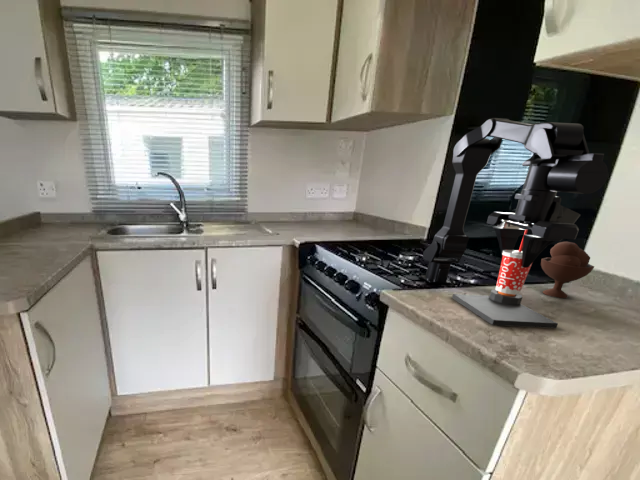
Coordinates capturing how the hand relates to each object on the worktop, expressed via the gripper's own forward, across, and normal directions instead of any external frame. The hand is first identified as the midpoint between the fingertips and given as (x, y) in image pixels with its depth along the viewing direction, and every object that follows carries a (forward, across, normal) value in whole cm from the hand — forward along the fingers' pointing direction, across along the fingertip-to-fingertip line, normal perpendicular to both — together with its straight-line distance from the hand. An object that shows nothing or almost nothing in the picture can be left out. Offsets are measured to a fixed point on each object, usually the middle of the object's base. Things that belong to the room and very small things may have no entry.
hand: (515, 263), depth 79 cm
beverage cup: (+7, 0, 0) cm, 7 cm away
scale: (+13, +3, -2) cm, 13 cm away
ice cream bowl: (+13, +19, -28) cm, 37 cm away
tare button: (+10, +9, -7) cm, 15 cm away
